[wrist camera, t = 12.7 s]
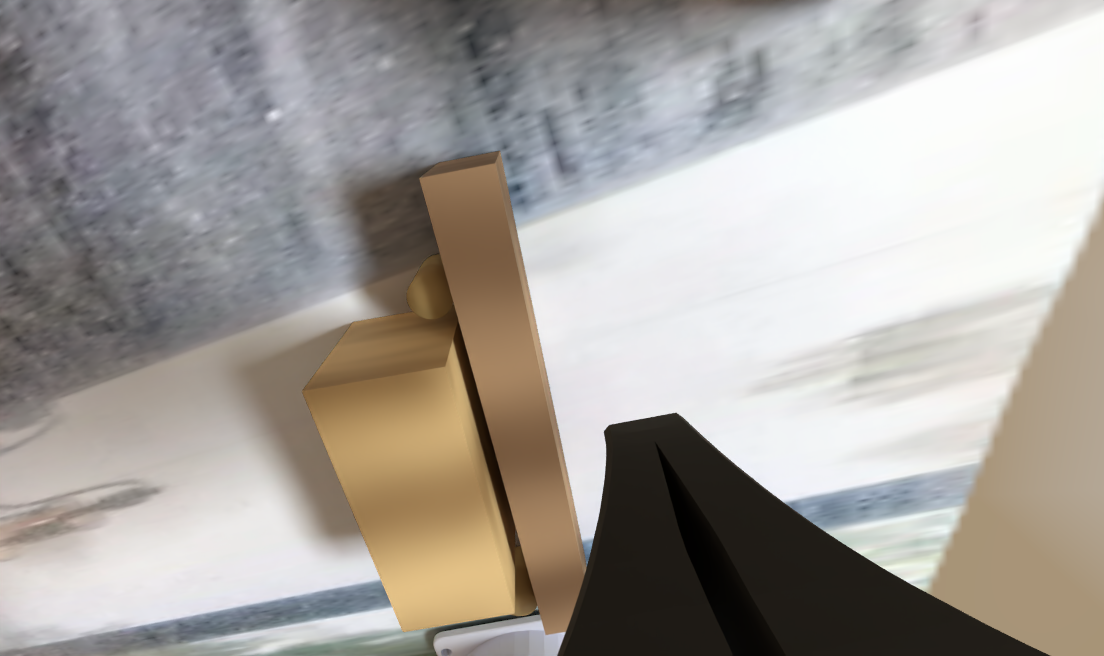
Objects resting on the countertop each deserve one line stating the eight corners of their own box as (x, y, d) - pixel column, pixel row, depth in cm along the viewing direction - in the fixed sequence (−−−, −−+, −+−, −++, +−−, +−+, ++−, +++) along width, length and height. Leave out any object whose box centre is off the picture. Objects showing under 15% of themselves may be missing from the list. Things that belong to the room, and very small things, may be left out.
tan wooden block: (515, 510, 23) (514, 613, 18) (422, 526, 23) (398, 632, 18) (463, 301, 19) (445, 366, 14) (350, 320, 19) (296, 392, 14)
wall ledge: (585, 557, 24) (595, 628, 21) (508, 571, 24) (506, 643, 21) (499, 150, 16) (495, 163, 13) (389, 172, 17) (358, 190, 13)
